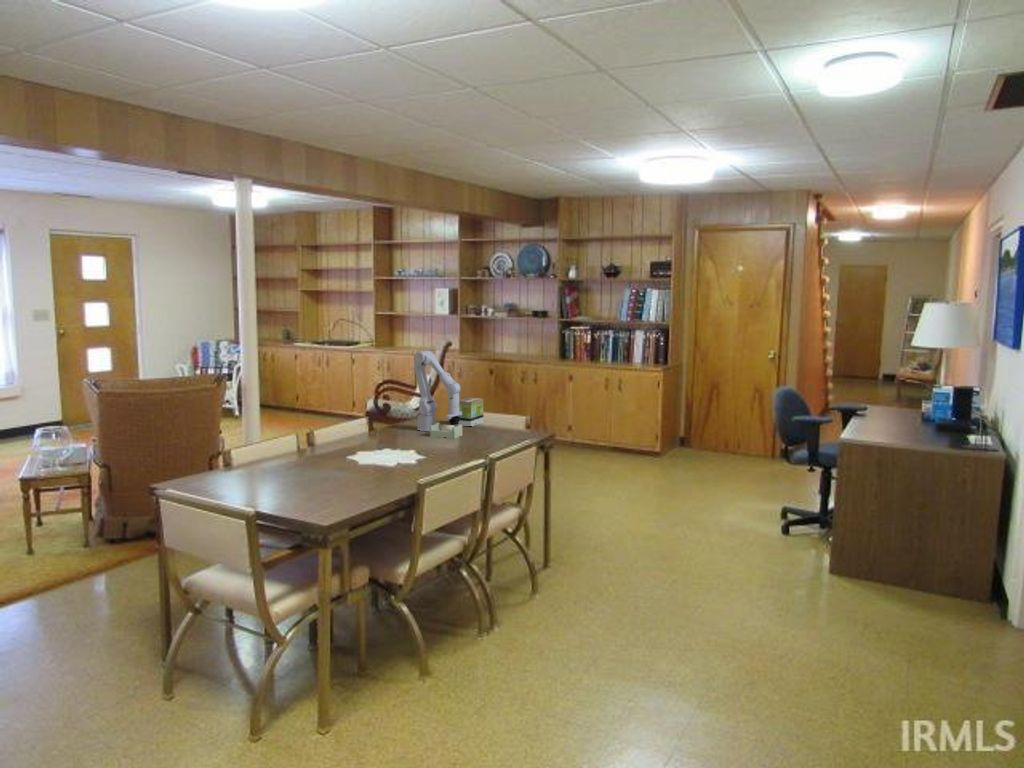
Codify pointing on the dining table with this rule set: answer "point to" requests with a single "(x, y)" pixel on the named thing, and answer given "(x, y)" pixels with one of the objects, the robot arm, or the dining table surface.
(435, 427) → the roll cradle
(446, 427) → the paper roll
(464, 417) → the tea box
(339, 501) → the dining table surface
